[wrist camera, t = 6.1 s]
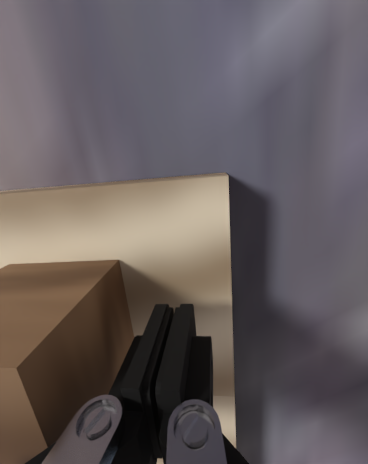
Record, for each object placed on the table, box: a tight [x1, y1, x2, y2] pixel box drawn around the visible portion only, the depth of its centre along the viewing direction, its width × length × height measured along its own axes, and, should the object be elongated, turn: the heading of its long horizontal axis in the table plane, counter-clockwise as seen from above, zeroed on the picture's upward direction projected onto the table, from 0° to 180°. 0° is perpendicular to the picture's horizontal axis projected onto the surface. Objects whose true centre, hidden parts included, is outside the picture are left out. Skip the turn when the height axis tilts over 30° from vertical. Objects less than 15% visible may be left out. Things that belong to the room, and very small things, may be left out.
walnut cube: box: [0, 260, 134, 464], centre depth 9 cm, size 6×6×6 cm
